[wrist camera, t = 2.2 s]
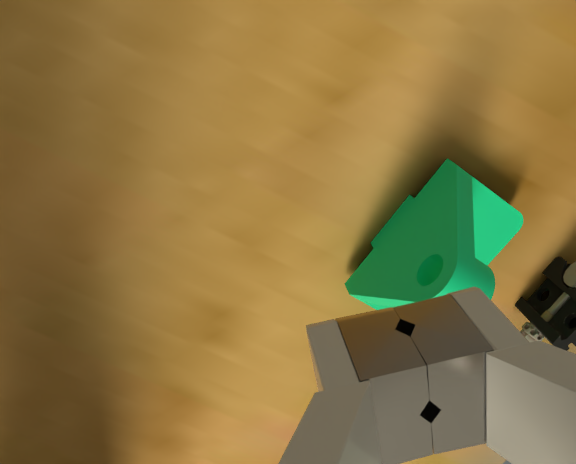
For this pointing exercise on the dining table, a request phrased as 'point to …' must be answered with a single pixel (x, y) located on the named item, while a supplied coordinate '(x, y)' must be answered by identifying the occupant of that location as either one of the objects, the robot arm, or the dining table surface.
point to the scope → (552, 307)
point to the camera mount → (436, 243)
